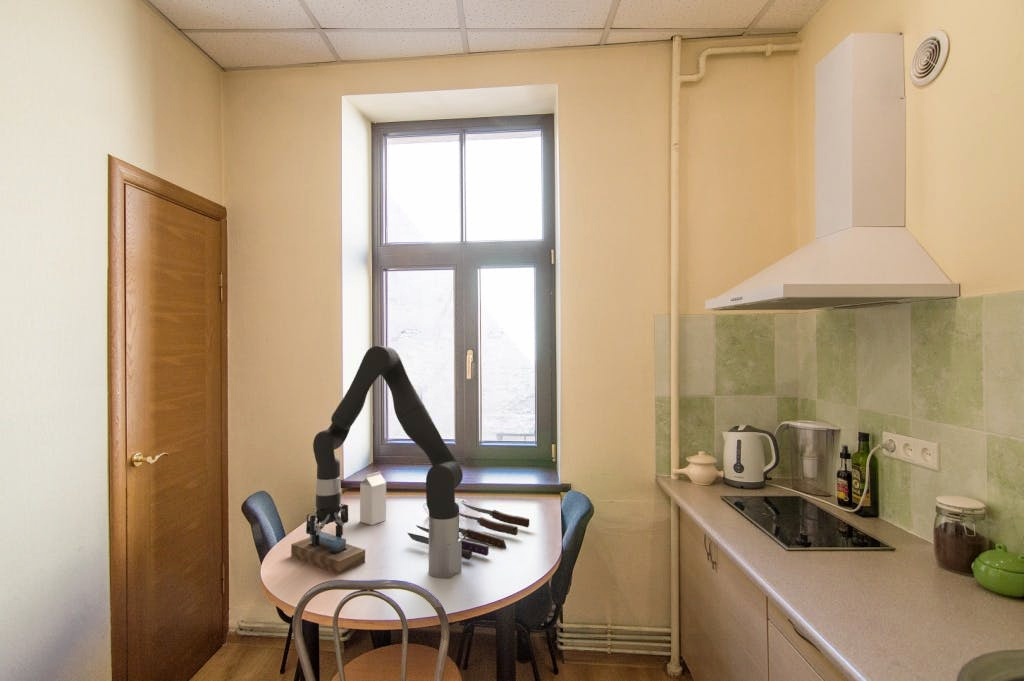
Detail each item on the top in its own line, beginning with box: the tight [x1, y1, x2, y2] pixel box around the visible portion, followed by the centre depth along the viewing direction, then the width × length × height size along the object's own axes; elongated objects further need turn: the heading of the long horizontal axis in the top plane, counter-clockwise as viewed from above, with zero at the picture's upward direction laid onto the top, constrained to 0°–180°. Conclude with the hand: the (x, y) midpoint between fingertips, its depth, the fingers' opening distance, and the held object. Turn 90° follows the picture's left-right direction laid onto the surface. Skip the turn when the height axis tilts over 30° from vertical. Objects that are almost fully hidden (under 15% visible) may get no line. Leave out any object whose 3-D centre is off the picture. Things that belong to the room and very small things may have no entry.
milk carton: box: [359, 470, 387, 526], centre depth 191 cm, size 7×7×19 cm
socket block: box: [290, 536, 366, 575], centre depth 156 cm, size 24×10×4 cm, turn 57°
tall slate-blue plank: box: [309, 530, 347, 555], centre depth 156 cm, size 14×3×8 cm, turn 58°
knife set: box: [407, 501, 530, 560], centre depth 174 cm, size 35×33×8 cm
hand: (327, 541), depth 156 cm, fingers open, 8 cm apart
